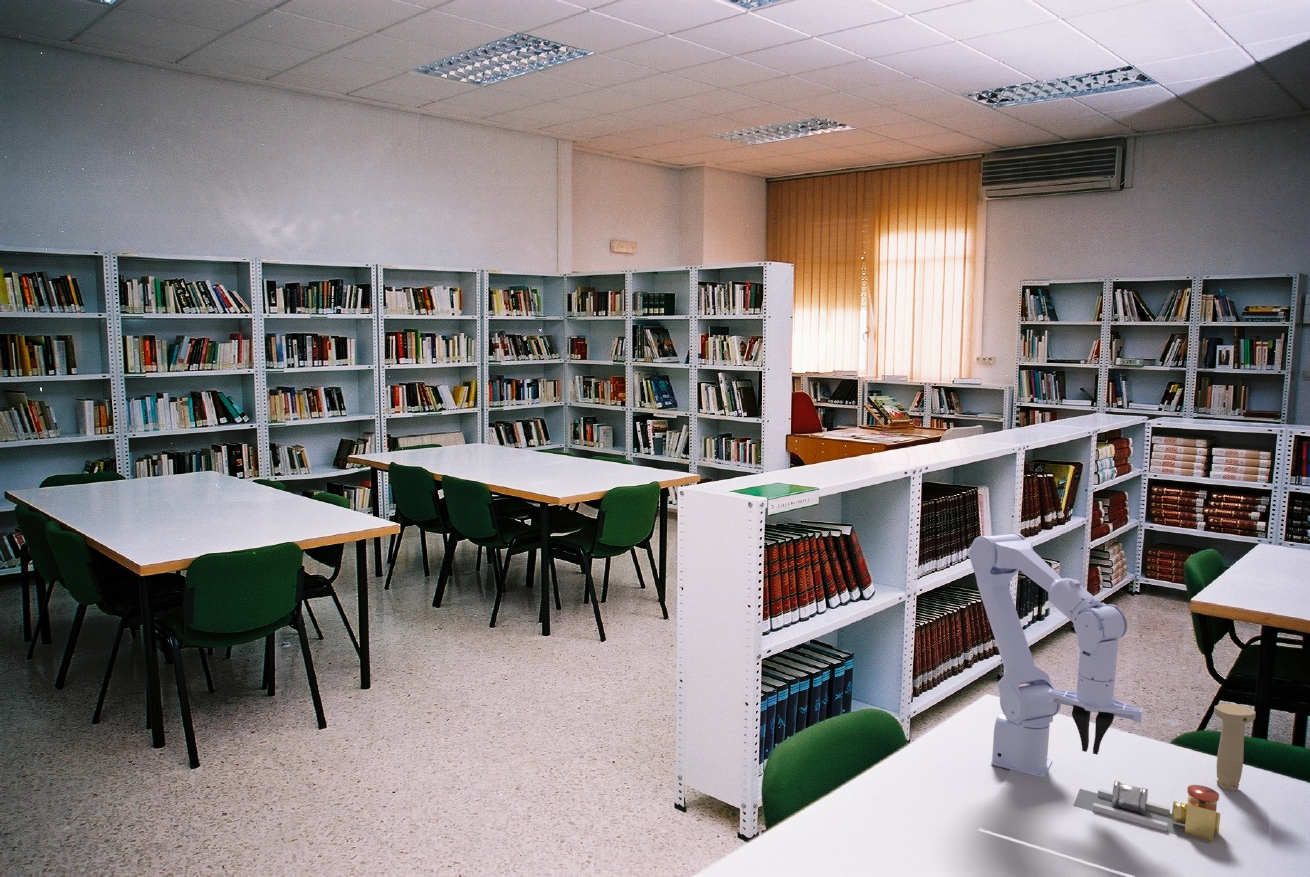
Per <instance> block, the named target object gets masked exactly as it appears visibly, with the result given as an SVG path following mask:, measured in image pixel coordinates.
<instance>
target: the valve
mask: <svg viewBox="0 0 1310 877" xmlns="http://www.w3.org/2000/svg"><path fill="white" fill-rule="evenodd" d="M1186 789H1187V794H1188V796H1187V803H1182V802H1179V801H1175V800H1173V801H1172V802H1173V803H1172V809H1171V810H1172V811H1171V813H1172V821H1174V822H1177V823H1181V824H1185V833H1184V834H1186V835H1190V836H1193V837H1197V838H1200V839H1204V840H1208V841H1210V842H1212V843H1214V836H1215V834H1219V832H1220V824H1221V823H1220V822H1221V812H1217V804H1218V802H1219V799H1220V794H1219V793H1218V791H1216V790H1215V789H1213V788H1210V787H1208V786H1206V785H1200V784H1191V785H1188V786H1187V788H1186Z"/></svg>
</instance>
